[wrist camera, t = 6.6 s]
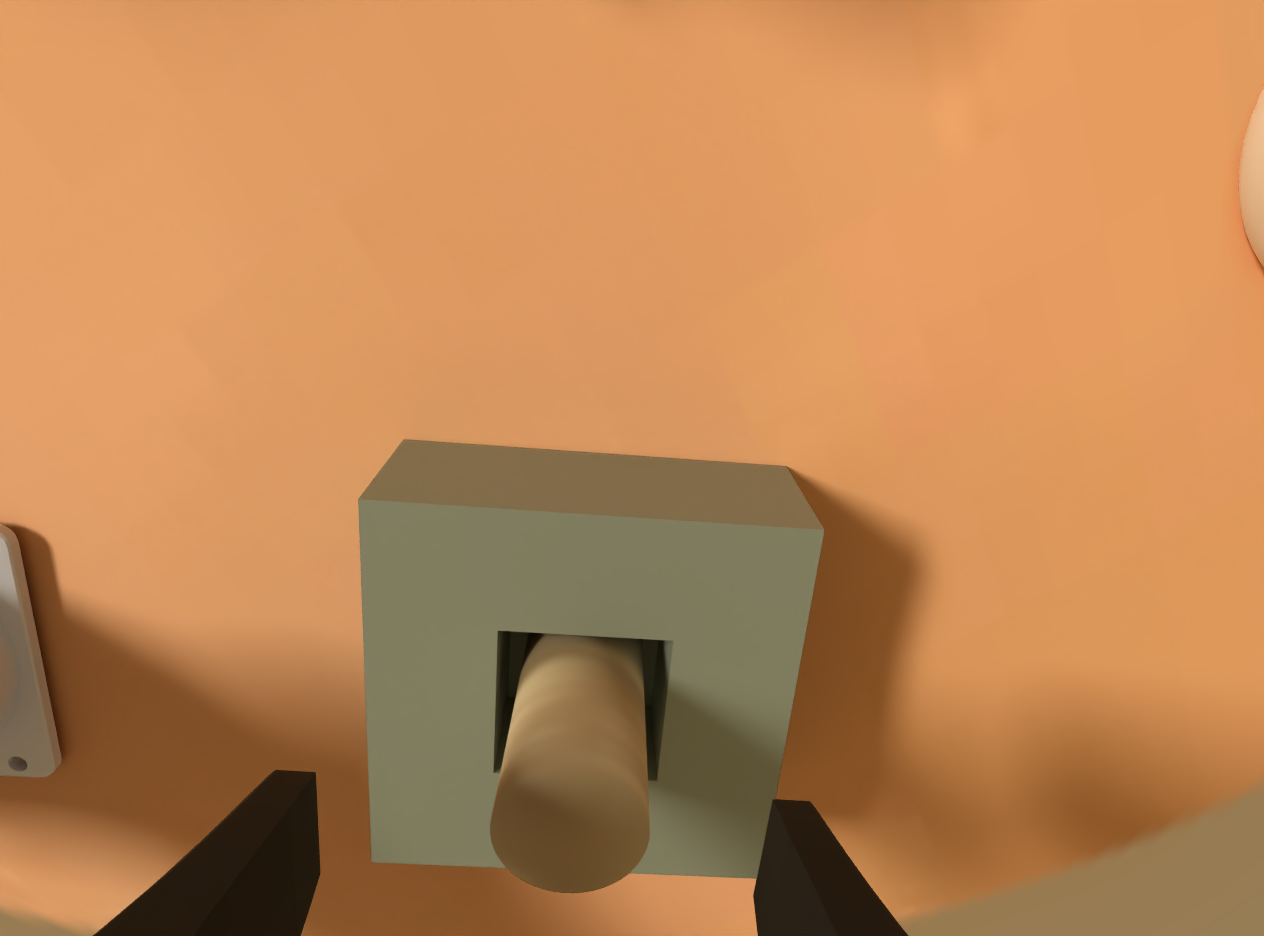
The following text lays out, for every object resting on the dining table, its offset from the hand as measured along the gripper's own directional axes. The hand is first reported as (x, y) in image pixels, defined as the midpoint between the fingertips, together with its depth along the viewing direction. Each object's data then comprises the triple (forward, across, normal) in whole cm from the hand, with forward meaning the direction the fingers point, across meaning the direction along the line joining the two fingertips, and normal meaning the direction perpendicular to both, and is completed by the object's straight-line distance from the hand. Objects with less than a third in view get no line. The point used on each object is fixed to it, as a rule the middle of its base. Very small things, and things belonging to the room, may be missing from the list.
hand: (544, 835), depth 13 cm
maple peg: (+9, -1, +2) cm, 9 cm away
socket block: (+10, 0, +2) cm, 10 cm away
